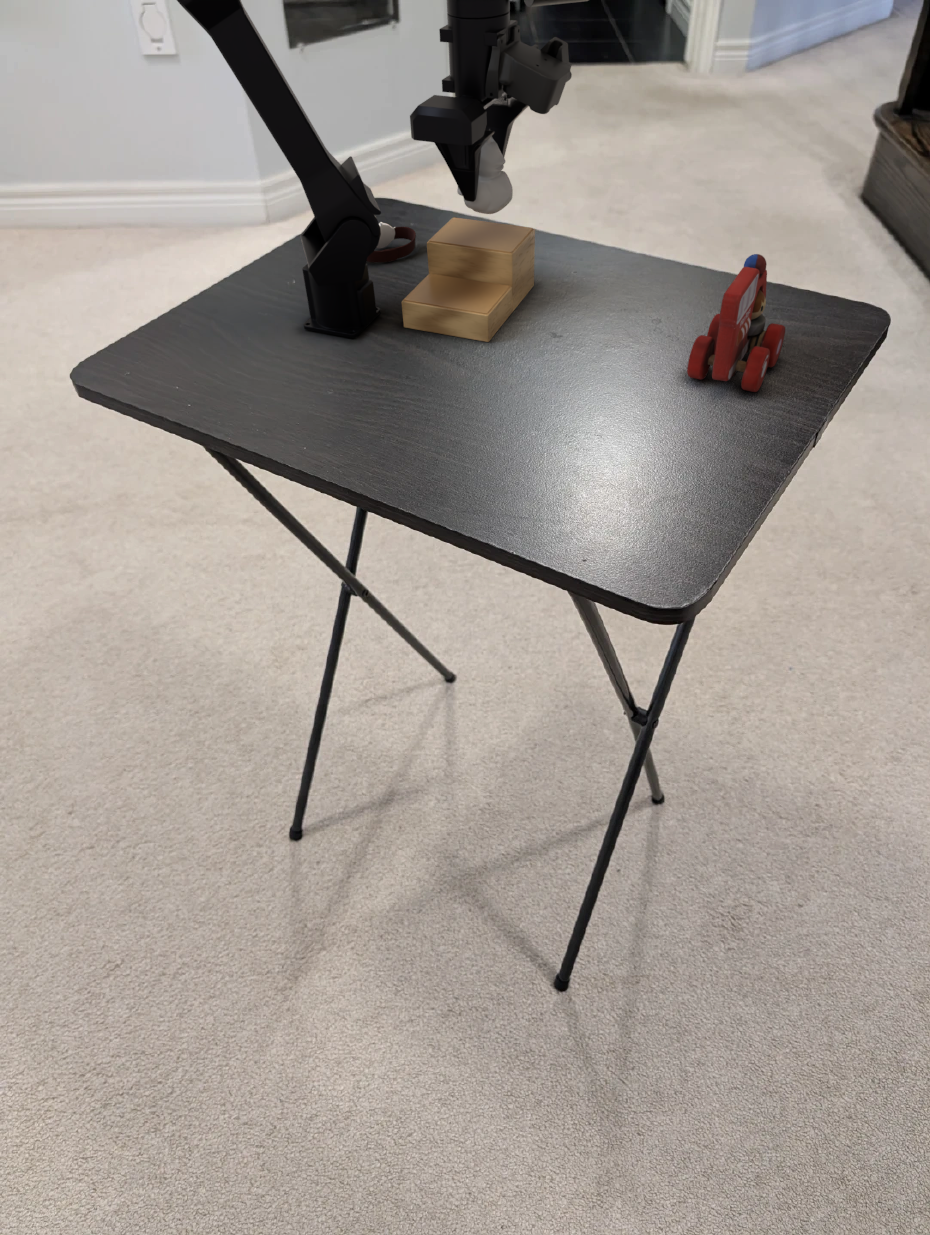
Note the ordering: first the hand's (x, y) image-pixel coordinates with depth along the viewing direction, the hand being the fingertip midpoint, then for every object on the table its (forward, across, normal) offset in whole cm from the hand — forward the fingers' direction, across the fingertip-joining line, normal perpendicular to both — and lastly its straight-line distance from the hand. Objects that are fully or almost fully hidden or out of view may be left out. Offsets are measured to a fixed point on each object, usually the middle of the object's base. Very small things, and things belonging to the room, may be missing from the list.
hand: (482, 190), depth 92 cm
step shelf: (+12, -2, +1) cm, 12 cm away
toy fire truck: (+12, -5, -29) cm, 32 cm away
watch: (+12, +7, +16) cm, 21 cm away
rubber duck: (+2, 0, 0) cm, 2 cm away
